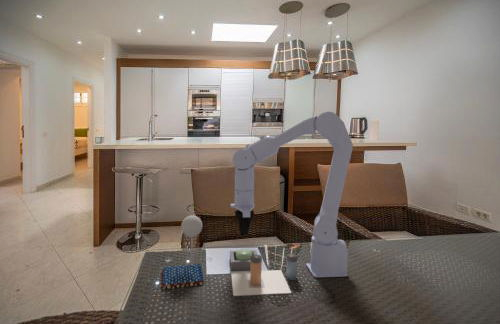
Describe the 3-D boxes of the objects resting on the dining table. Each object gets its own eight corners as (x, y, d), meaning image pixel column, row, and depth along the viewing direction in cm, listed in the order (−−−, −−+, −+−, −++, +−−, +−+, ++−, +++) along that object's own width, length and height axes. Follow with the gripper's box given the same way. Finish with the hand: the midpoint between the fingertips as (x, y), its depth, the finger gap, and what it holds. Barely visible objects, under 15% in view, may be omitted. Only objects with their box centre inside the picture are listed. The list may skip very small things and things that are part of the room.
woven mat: (161, 272, 82) (161, 265, 82) (200, 268, 85) (200, 262, 84) (160, 292, 72) (160, 284, 72) (204, 287, 75) (204, 279, 74)
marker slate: (295, 274, 81) (295, 253, 80) (298, 279, 78) (298, 257, 77) (284, 275, 81) (285, 253, 80) (287, 280, 78) (288, 258, 77)
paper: (280, 270, 83) (280, 270, 83) (291, 293, 71) (291, 292, 71) (231, 272, 82) (231, 271, 82) (233, 296, 70) (233, 295, 70)
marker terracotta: (260, 280, 77) (260, 254, 76) (262, 286, 74) (262, 259, 73) (249, 281, 76) (249, 254, 76) (250, 286, 74) (251, 259, 73)
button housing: (255, 258, 91) (255, 250, 91) (259, 269, 83) (259, 261, 83) (229, 258, 90) (229, 250, 90) (230, 270, 83) (231, 262, 82)
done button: (251, 258, 90) (251, 249, 89) (253, 265, 85) (253, 255, 84) (235, 259, 89) (235, 249, 89) (236, 266, 84) (236, 256, 84)
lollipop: (197, 273, 81) (197, 219, 79) (177, 271, 82) (177, 218, 80) (205, 263, 87) (205, 213, 85) (186, 261, 88) (186, 212, 87)
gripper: (229, 185, 94) (229, 227, 95) (232, 194, 79) (231, 243, 81) (251, 185, 95) (251, 226, 96) (258, 194, 80) (257, 243, 81)
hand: (243, 234), depth 88 cm, fingers closed
